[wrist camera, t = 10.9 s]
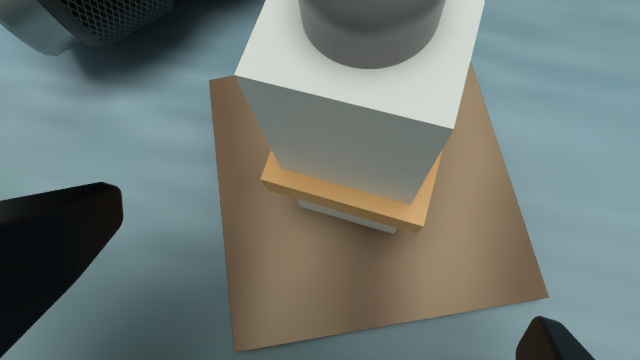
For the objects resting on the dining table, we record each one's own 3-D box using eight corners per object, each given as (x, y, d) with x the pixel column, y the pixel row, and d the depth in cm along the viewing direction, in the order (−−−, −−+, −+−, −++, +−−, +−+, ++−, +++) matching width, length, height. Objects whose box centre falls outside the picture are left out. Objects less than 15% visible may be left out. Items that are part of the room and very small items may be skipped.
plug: (403, 249, 16) (529, 105, 5) (285, 214, 17) (145, 16, 5) (432, 138, 17) (585, -188, 6) (321, 110, 18) (270, -225, 7)
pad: (241, 349, 16) (234, 352, 15) (215, 91, 20) (209, 80, 19) (537, 298, 16) (549, 297, 15) (455, 46, 20) (461, 33, 19)
